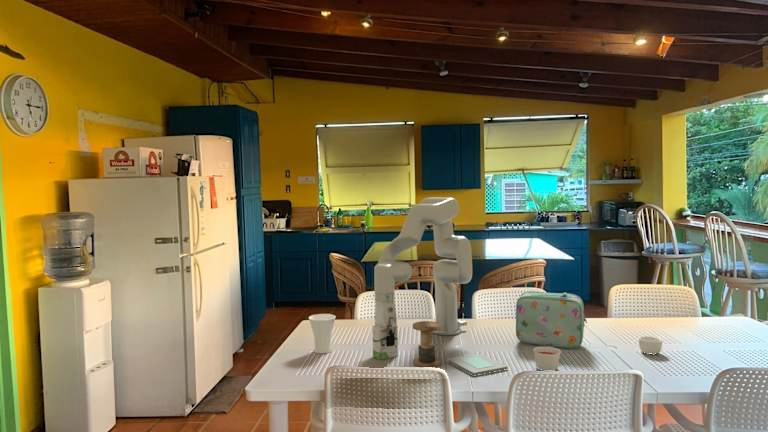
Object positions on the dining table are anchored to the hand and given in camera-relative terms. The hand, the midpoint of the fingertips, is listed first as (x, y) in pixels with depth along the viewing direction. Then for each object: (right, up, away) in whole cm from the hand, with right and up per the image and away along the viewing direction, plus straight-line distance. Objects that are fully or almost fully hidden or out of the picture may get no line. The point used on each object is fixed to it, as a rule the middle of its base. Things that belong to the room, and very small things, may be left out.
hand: (385, 342), depth 200 cm
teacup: (+99, -4, 0) cm, 100 cm away
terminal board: (+32, -5, -12) cm, 35 cm away
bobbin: (+15, -5, -8) cm, 18 cm away
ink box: (0, -6, 0) cm, 6 cm away
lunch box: (+66, -4, +12) cm, 68 cm away
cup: (-24, -5, +8) cm, 26 cm away
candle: (+56, -6, -15) cm, 58 cm away
